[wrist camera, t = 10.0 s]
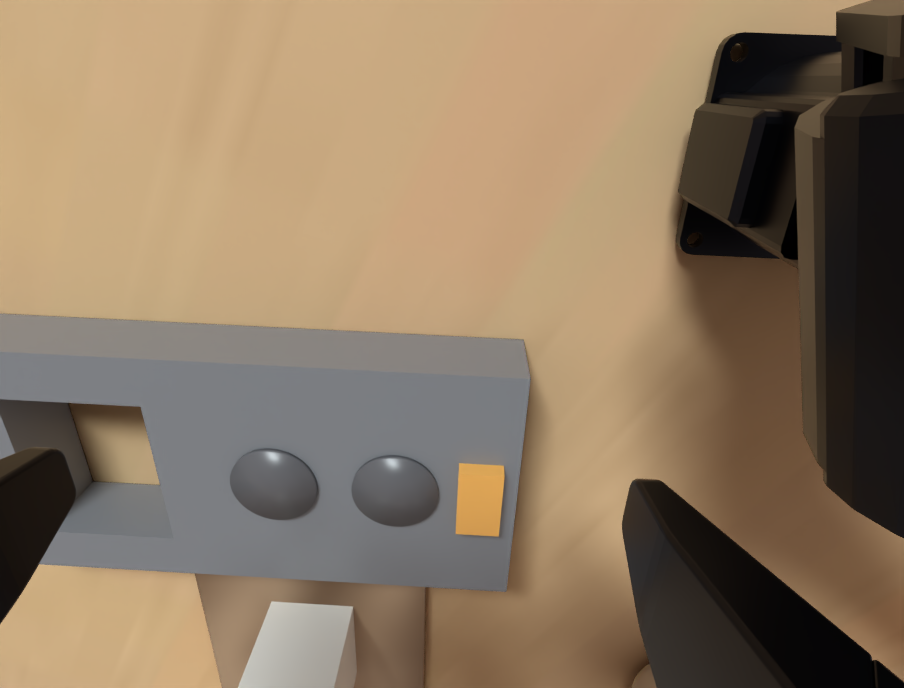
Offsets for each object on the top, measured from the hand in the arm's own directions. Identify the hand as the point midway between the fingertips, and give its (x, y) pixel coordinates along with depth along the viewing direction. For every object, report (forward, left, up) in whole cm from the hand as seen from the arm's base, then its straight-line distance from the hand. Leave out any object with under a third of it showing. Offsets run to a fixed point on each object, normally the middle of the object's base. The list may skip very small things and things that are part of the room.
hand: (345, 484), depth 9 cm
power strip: (+7, +8, -12) cm, 16 cm away
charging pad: (+5, +20, -12) cm, 24 cm away
